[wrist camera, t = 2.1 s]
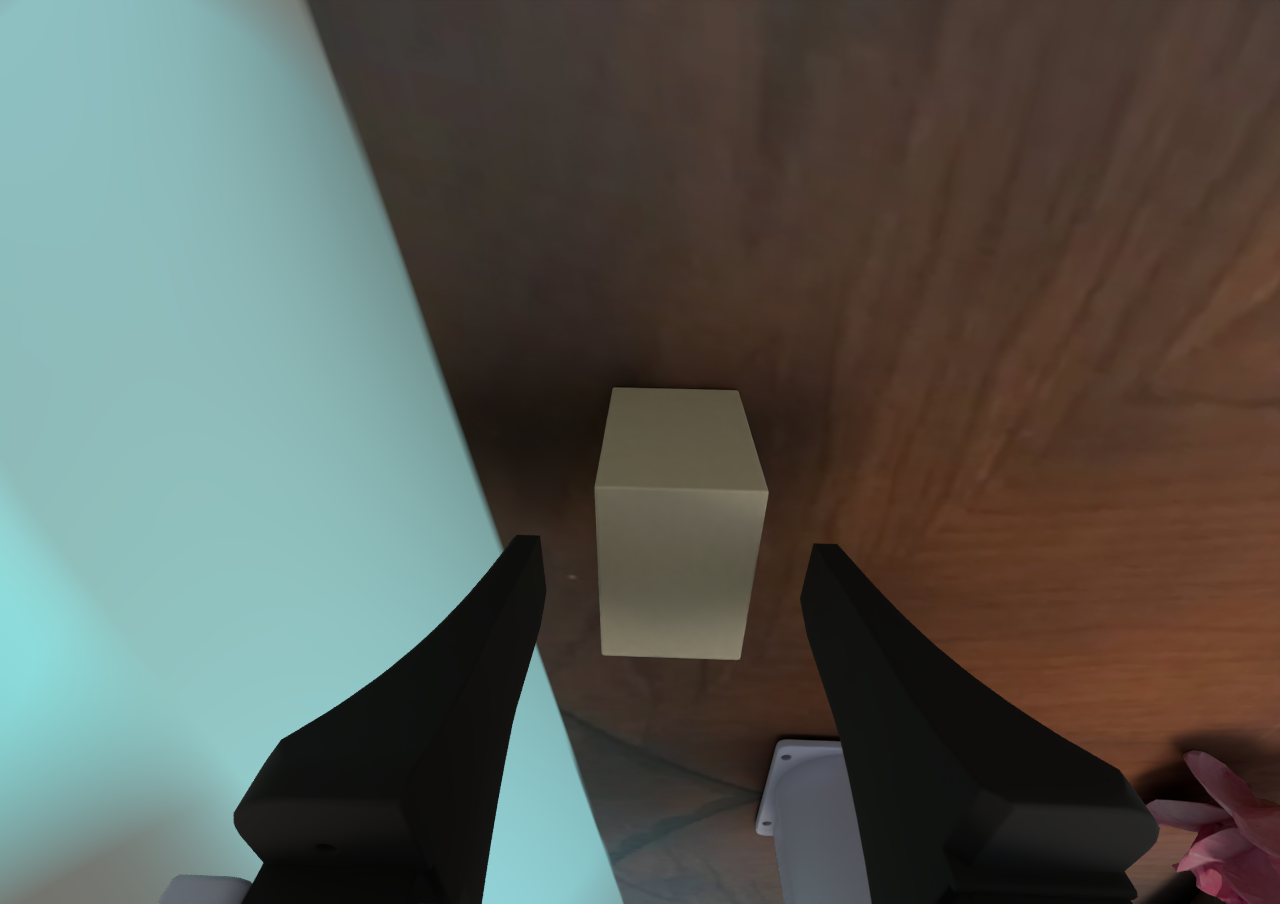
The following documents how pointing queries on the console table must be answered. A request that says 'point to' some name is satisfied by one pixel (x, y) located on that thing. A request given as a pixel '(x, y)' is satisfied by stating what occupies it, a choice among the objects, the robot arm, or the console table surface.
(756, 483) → the ivory block
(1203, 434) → the console table surface
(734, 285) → the console table surface
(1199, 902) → the coffee cup
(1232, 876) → the flower
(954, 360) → the console table surface
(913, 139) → the console table surface
